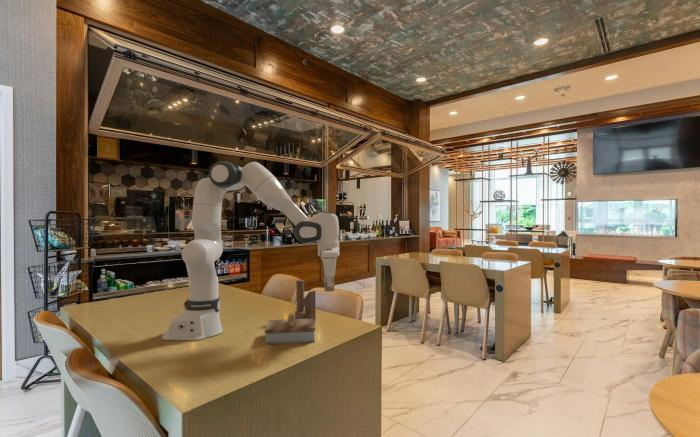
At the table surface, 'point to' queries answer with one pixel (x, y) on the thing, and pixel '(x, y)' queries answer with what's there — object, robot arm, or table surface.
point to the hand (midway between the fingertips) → (329, 285)
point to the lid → (290, 325)
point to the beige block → (327, 286)
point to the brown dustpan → (304, 302)
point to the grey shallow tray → (289, 337)
